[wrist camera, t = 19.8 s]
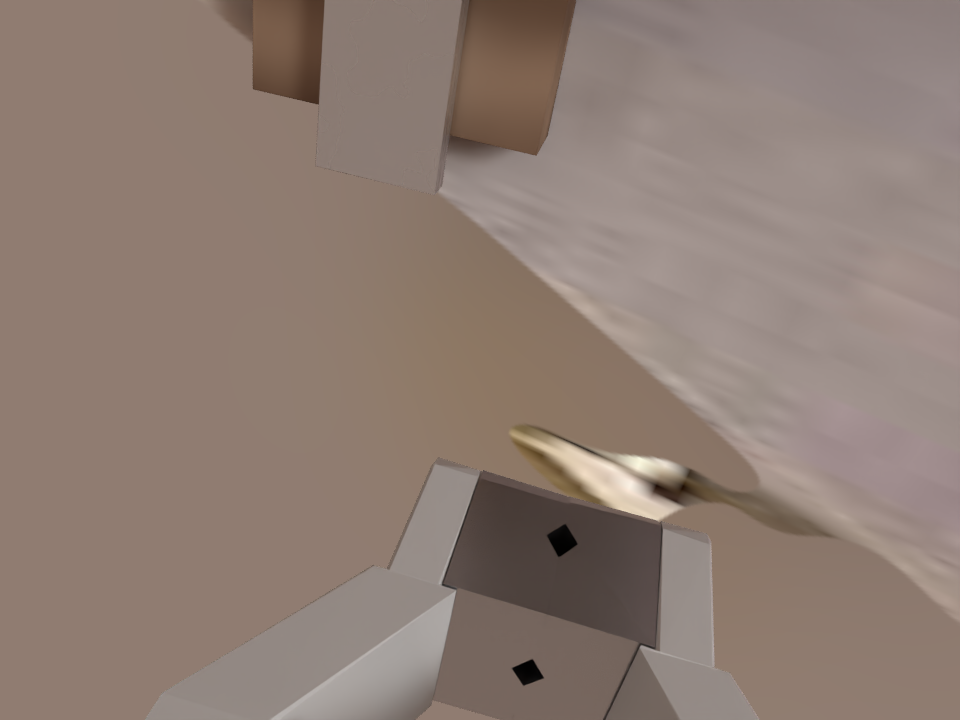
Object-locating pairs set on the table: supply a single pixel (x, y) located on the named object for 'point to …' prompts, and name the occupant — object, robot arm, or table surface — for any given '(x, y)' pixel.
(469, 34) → the walnut holder
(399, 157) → the latch bar
